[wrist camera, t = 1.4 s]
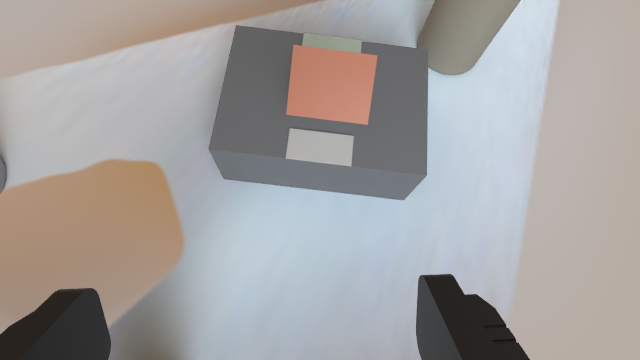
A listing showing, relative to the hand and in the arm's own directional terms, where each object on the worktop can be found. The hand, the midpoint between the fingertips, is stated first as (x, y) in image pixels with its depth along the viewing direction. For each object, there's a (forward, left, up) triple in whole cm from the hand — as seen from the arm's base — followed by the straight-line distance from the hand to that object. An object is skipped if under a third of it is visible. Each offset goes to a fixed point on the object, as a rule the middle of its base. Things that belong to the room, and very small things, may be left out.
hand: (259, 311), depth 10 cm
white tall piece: (+1, +20, -21) cm, 29 cm away
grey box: (+1, +20, -30) cm, 37 cm away
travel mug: (+16, +34, -31) cm, 49 cm away
